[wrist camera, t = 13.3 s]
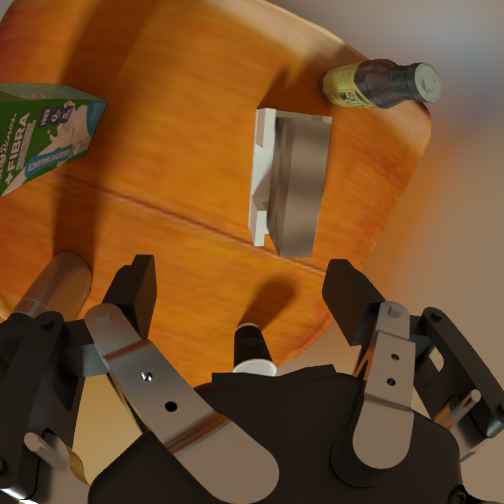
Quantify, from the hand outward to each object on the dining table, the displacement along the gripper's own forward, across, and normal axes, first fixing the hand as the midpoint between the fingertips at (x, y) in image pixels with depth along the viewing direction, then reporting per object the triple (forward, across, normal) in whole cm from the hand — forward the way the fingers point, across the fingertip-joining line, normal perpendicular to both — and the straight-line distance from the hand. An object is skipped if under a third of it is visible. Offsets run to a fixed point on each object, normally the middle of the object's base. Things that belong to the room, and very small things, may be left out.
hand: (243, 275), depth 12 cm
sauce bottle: (+29, -16, -15) cm, 36 cm away
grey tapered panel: (+26, -9, 0) cm, 28 cm away
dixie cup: (+30, -7, +32) cm, 45 cm away
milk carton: (+29, +24, -8) cm, 38 cm away
